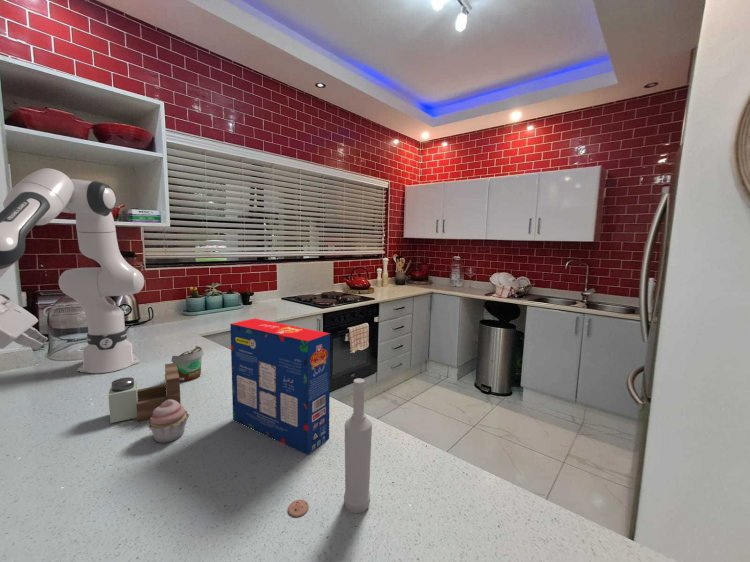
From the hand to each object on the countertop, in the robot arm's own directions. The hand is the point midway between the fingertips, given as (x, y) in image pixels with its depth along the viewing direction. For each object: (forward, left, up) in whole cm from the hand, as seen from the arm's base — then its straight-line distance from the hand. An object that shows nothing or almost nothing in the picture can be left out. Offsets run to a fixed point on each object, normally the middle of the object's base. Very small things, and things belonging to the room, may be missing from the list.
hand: (42, 344), depth 83 cm
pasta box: (+30, +50, -24) cm, 63 cm away
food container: (-20, +34, -24) cm, 46 cm away
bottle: (+63, +54, -24) cm, 87 cm away
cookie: (+58, +44, -24) cm, 77 cm away
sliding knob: (0, +15, -23) cm, 28 cm away
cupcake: (+18, +25, -24) cm, 39 cm away
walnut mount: (0, +22, -23) cm, 32 cm away
